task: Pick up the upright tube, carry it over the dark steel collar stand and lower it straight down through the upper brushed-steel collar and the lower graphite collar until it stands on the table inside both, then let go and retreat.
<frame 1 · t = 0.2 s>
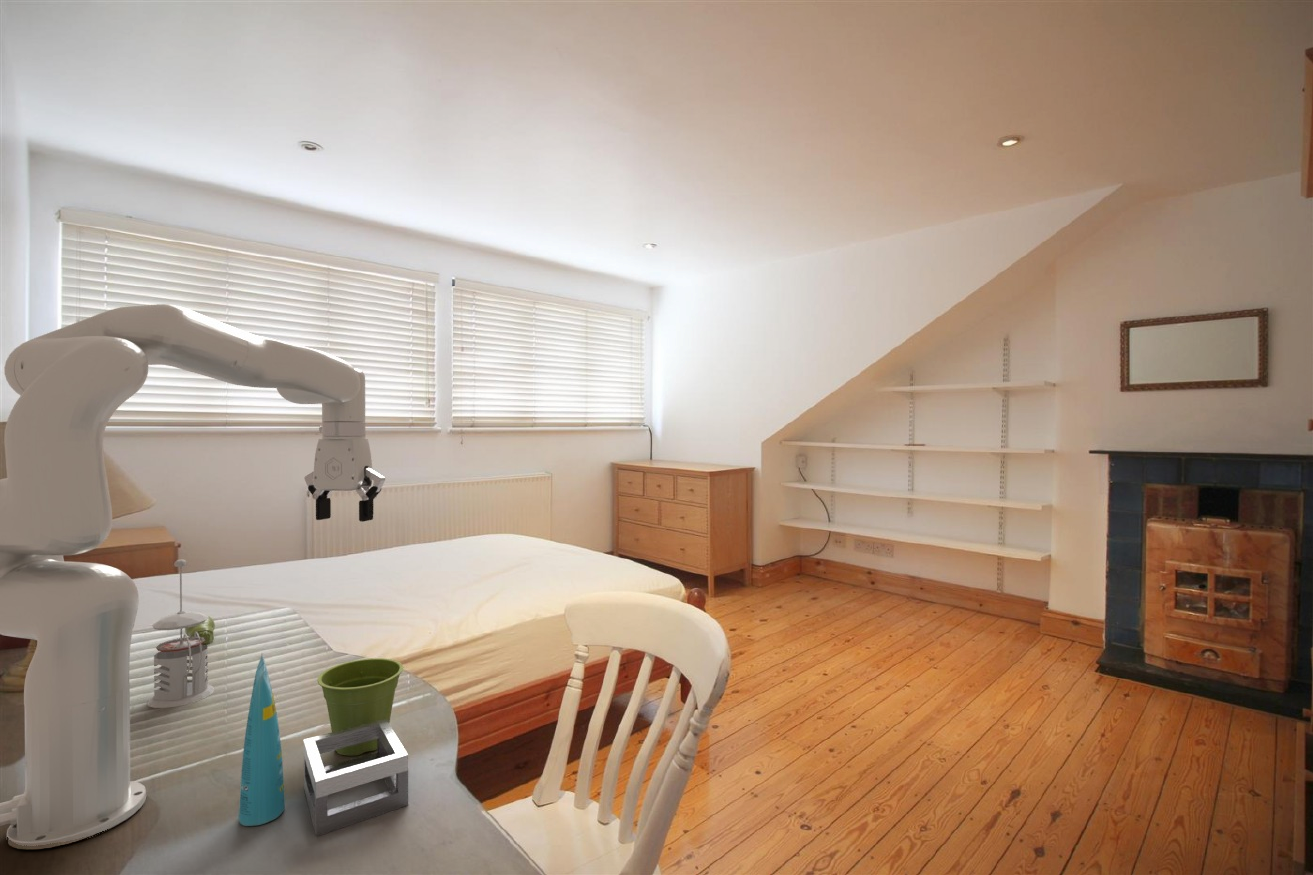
hand: (344, 519, 119), 31 cm above the table, tool pointing down, fingers open, 9 cm apart
tube: (263, 816, 77), on the table
plant pot: (361, 746, 94), on the table
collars: (354, 796, 81), on the table
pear: (200, 641, 143), on the table
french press: (183, 698, 112), on the table
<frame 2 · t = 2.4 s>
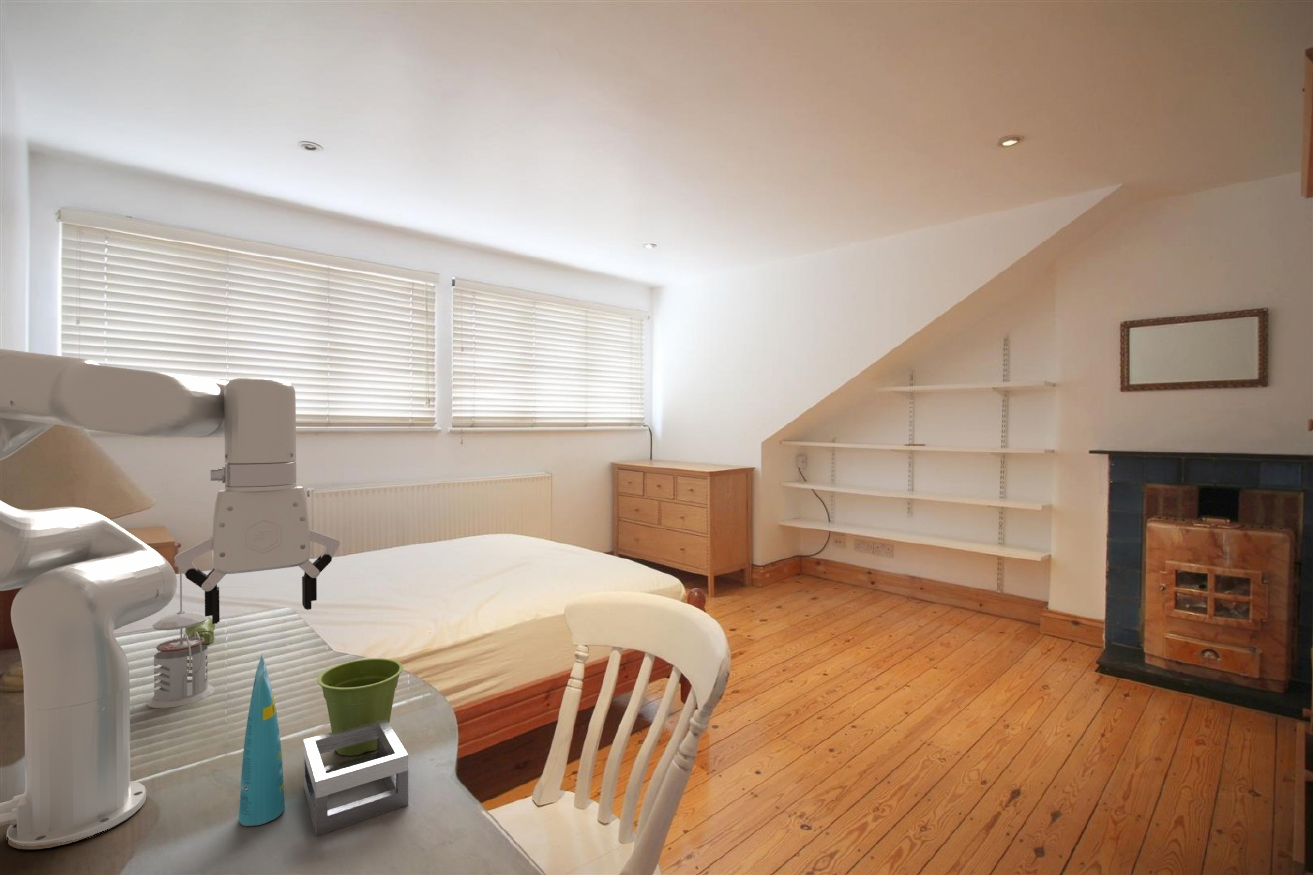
hand: (263, 613, 77), 25 cm above the table, tool pointing down, fingers open, 9 cm apart
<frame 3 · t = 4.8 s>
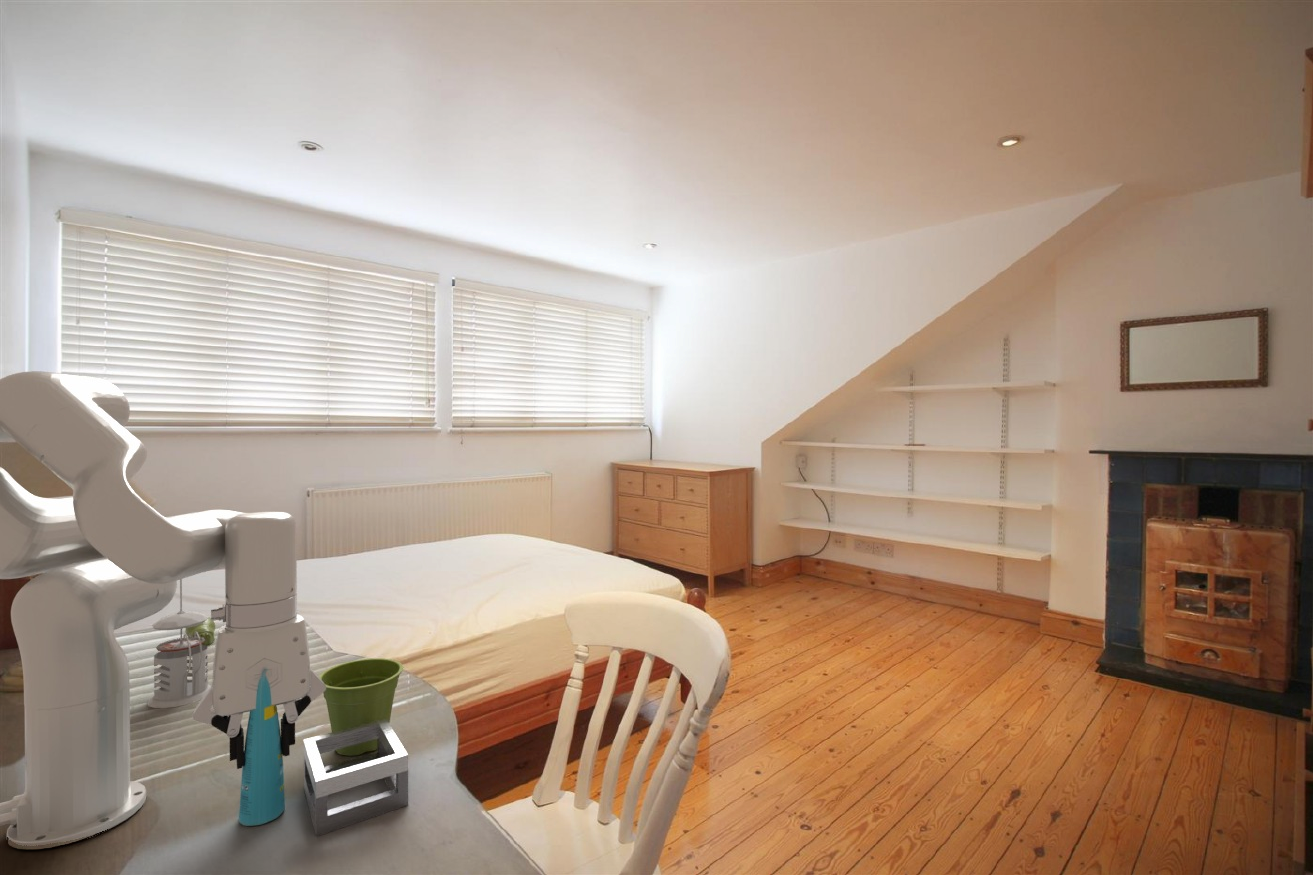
hand: (263, 756, 77), 7 cm above the table, tool pointing down, fingers closed on tube, 4 cm apart
tube: (263, 816, 77), on the table, touching gripper
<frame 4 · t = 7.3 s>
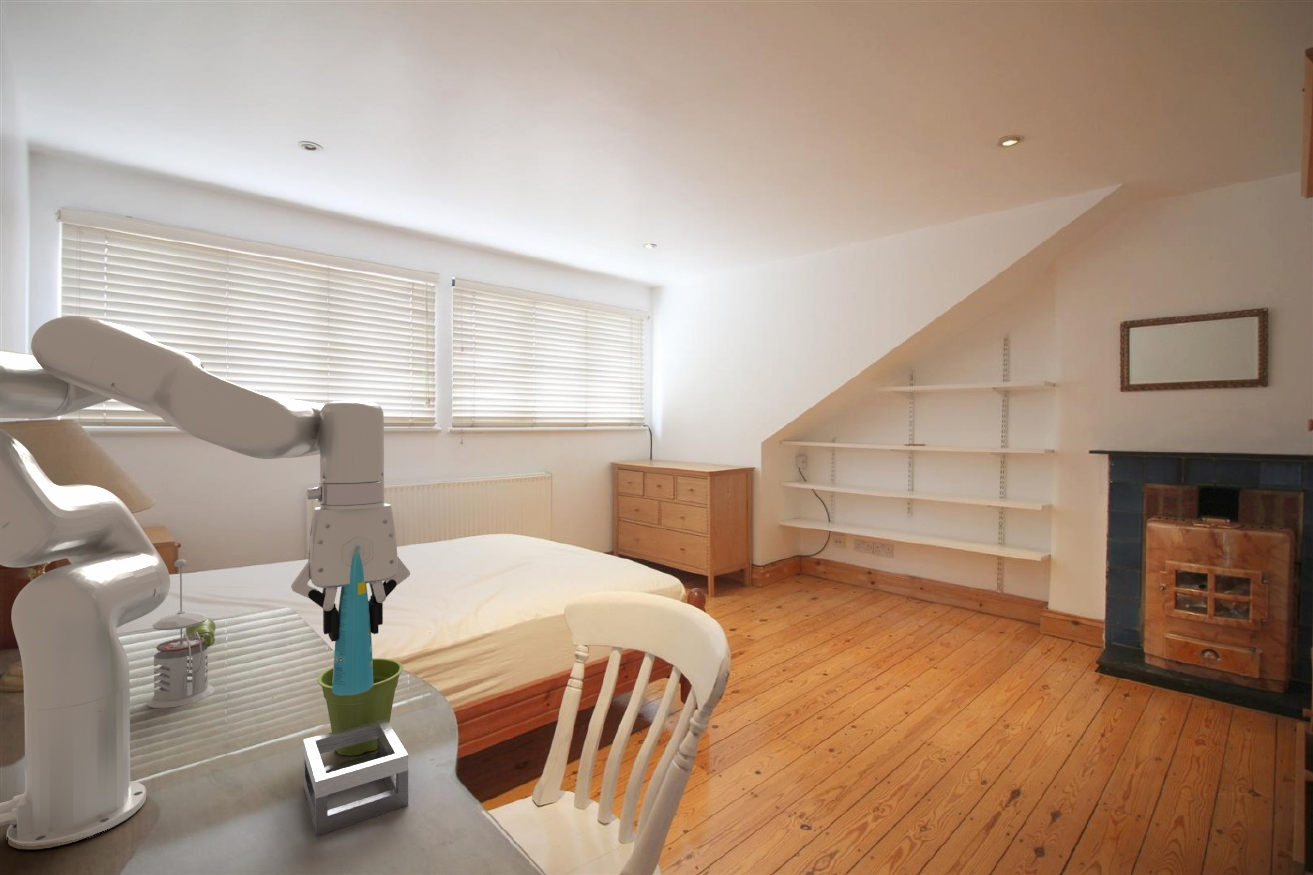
hand: (353, 633, 81), 21 cm above the table, tool pointing down, fingers closed on tube, 4 cm apart
tube: (353, 690, 81), point 14 cm above the table, touching gripper
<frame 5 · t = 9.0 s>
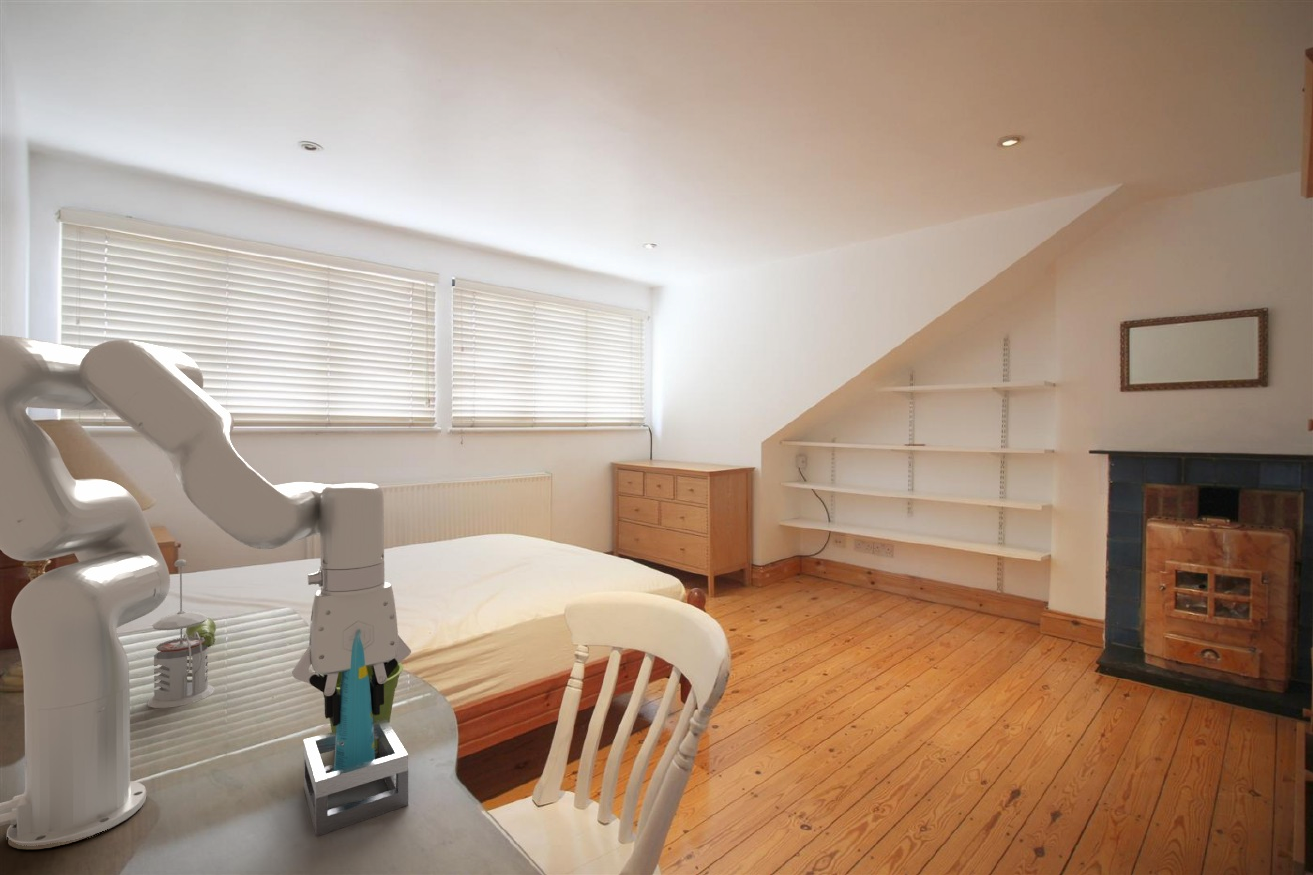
hand: (354, 715, 81), 11 cm above the table, tool pointing down, fingers closed on tube, 4 cm apart
tube: (355, 771, 81), point 3 cm above the table, touching gripper
when the fingers open (9 cm above the table, at t = 10.2 s): tube drops 1 cm, resting in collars.
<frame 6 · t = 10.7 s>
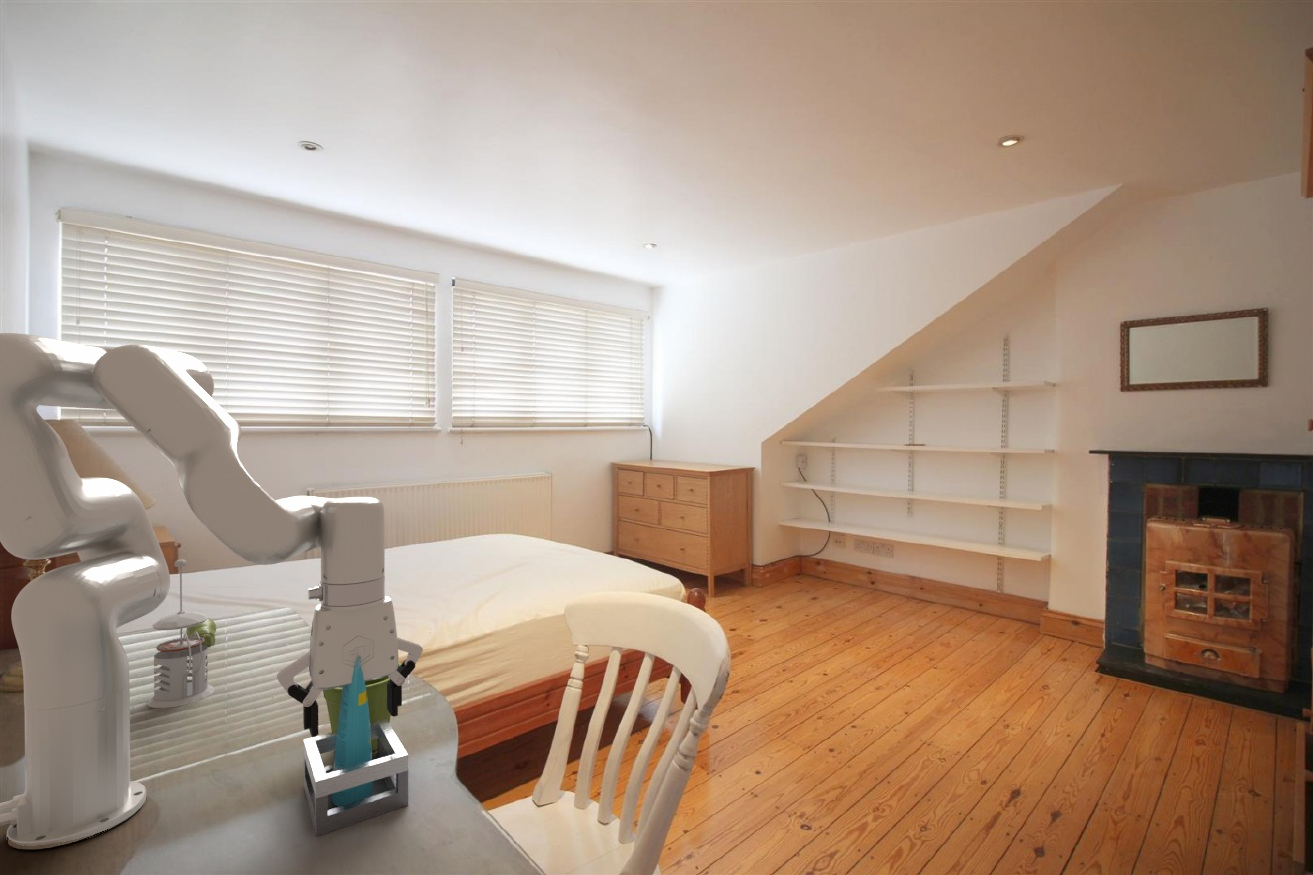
hand: (354, 722, 81), 10 cm above the table, tool pointing down, fingers open, 9 cm apart
tube: (353, 797, 81), resting in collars
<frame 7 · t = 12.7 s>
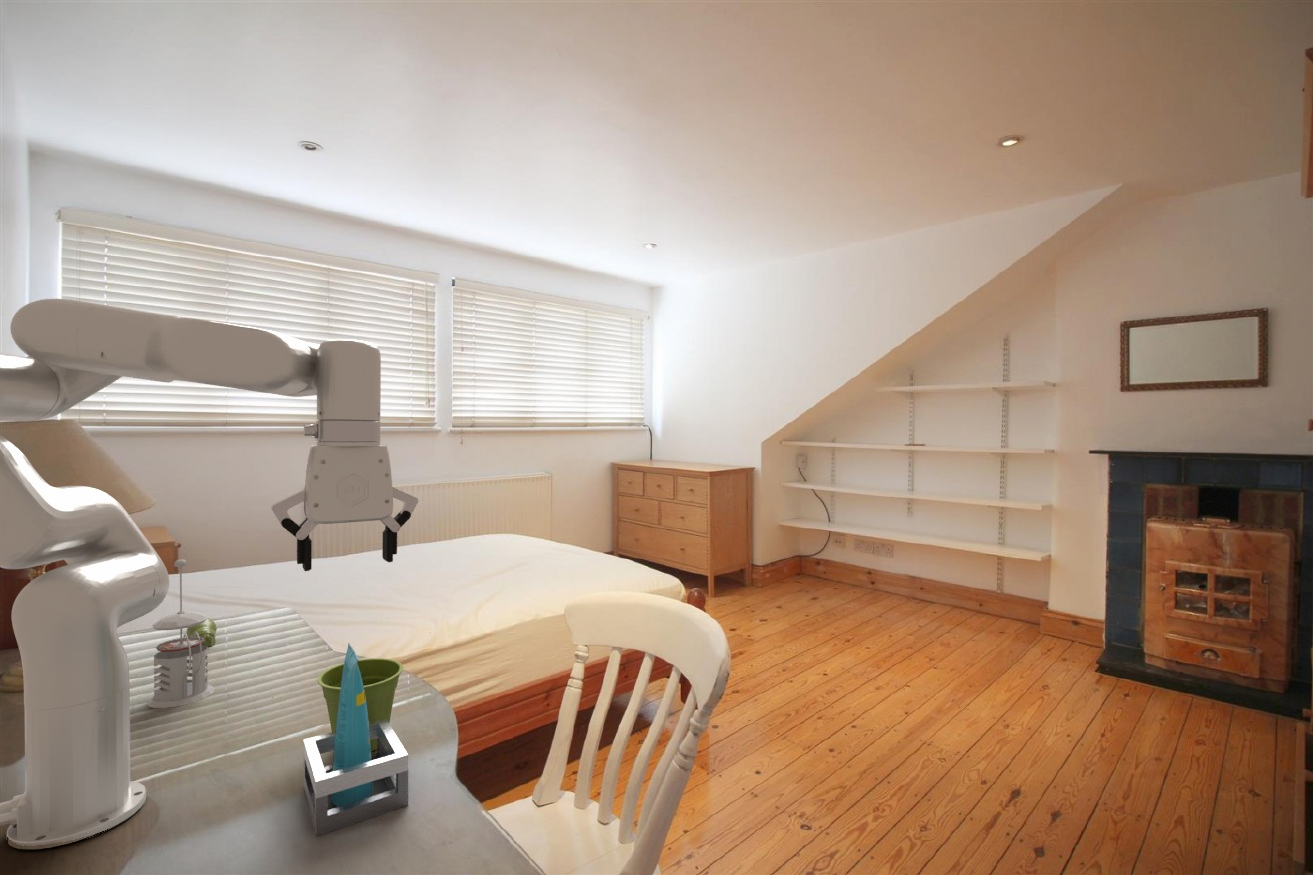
hand: (348, 564, 81), 30 cm above the table, tool pointing down, fingers open, 9 cm apart
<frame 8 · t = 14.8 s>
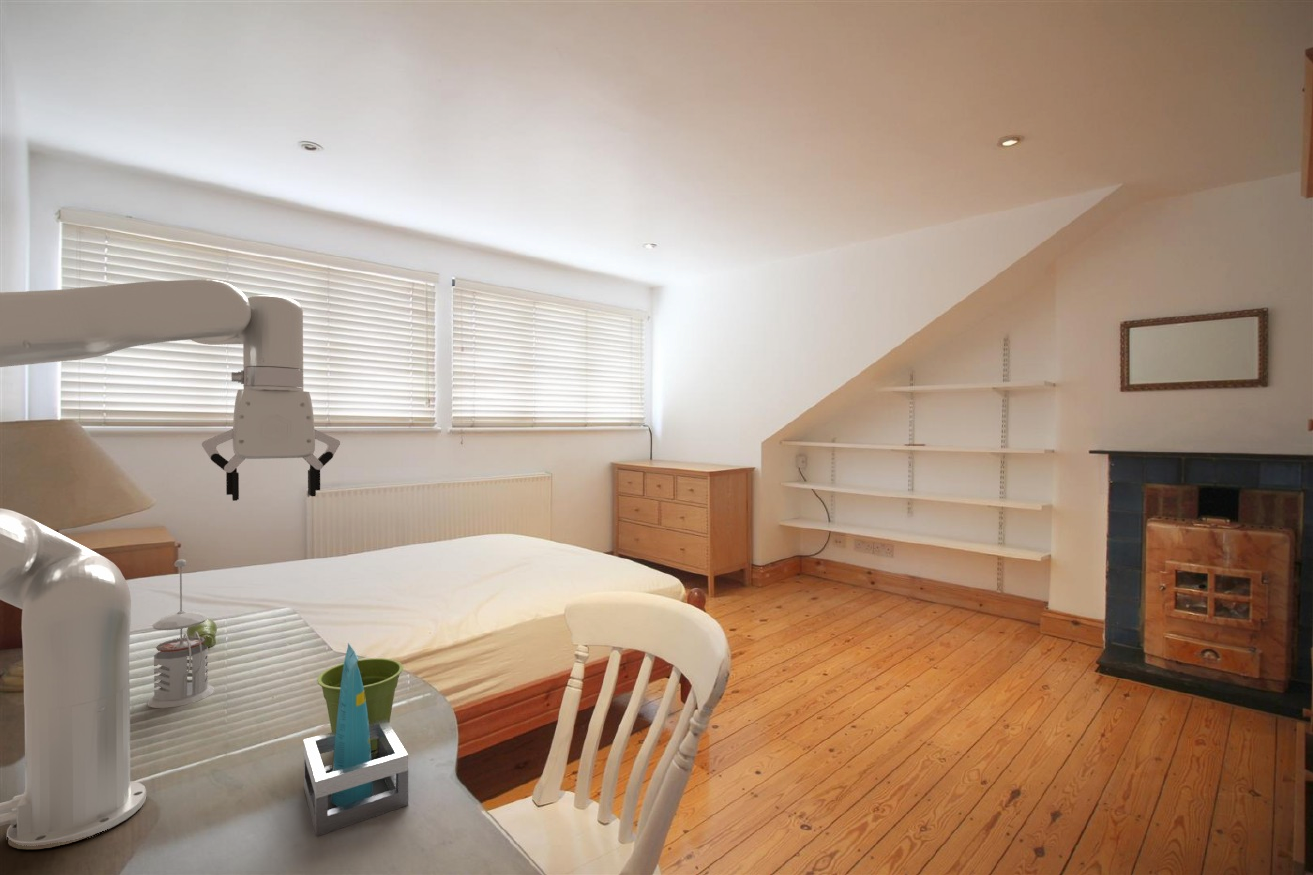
hand: (274, 497, 91), 38 cm above the table, tool pointing down, fingers open, 9 cm apart
at the end: tube 0.2 cm off-centre on the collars, point 0.0 cm above the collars's base; tube tilted 0°; the gripper is holding nothing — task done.
